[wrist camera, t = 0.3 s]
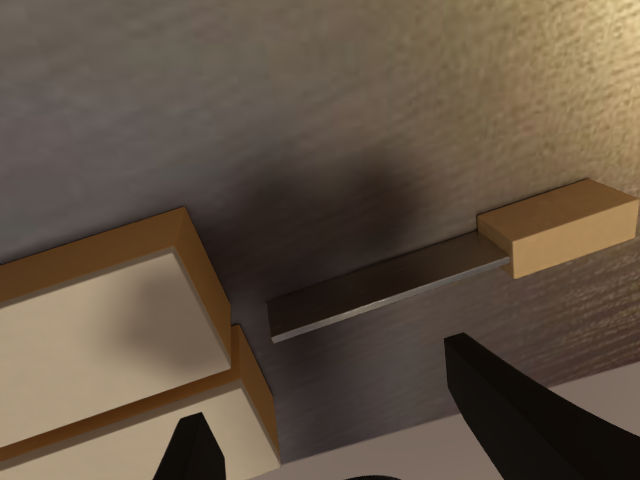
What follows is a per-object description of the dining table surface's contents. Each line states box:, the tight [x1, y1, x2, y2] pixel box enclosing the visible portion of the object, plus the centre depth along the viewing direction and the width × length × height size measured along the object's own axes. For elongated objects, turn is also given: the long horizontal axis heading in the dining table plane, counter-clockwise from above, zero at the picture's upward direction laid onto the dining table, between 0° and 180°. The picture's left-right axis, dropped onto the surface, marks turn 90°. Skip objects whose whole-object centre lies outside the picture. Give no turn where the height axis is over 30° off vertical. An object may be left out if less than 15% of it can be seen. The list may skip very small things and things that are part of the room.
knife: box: [266, 179, 640, 343], centre depth 21 cm, size 18×2×3 cm, turn 105°
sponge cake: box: [0, 207, 281, 480], centre depth 19 cm, size 13×12×5 cm
